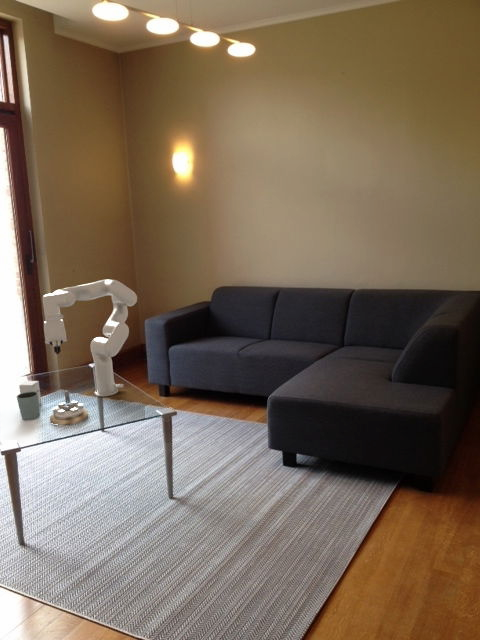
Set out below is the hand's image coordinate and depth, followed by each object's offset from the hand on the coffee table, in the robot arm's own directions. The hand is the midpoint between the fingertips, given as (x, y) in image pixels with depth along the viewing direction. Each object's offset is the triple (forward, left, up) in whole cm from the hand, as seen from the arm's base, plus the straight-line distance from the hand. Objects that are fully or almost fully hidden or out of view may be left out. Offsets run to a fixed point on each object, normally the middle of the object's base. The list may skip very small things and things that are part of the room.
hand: (57, 353), depth 295 cm
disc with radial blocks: (-1, +18, -27) cm, 32 cm away
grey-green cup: (+17, +6, -29) cm, 34 cm away
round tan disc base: (-1, +18, -29) cm, 34 cm away
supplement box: (+16, -12, -29) cm, 36 cm away
